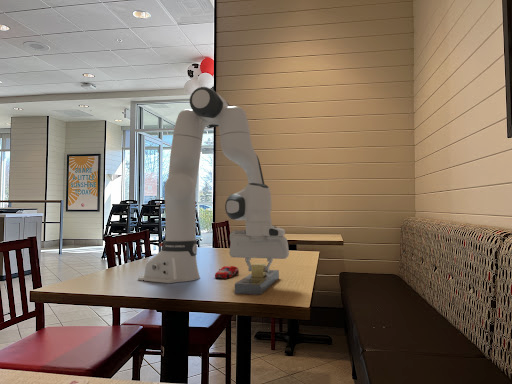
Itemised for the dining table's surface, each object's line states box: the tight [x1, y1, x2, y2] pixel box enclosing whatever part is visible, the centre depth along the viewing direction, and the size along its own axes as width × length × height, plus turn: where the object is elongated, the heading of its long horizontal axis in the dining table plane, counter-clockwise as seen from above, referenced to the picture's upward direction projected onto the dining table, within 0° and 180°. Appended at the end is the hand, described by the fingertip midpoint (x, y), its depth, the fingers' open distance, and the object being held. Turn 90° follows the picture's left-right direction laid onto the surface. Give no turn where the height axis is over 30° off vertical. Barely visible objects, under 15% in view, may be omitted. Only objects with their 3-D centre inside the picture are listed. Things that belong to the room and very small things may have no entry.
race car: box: [214, 265, 240, 280], centre depth 144 cm, size 13×5×4 cm, turn 156°
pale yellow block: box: [251, 262, 267, 278], centre depth 127 cm, size 4×4×7 cm
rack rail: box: [234, 269, 280, 296], centre depth 127 cm, size 8×28×3 cm, turn 165°
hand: (258, 271), depth 127 cm, fingers closed on pale yellow block, 4 cm apart
